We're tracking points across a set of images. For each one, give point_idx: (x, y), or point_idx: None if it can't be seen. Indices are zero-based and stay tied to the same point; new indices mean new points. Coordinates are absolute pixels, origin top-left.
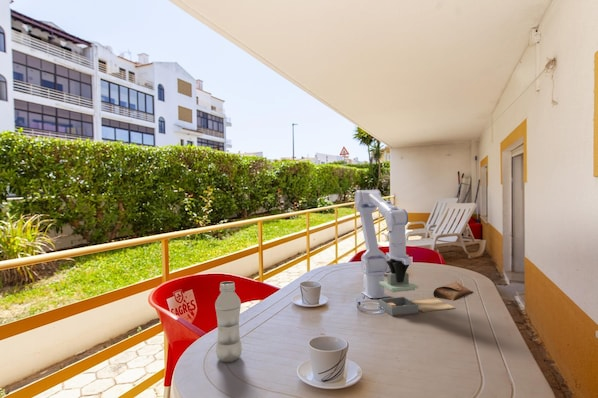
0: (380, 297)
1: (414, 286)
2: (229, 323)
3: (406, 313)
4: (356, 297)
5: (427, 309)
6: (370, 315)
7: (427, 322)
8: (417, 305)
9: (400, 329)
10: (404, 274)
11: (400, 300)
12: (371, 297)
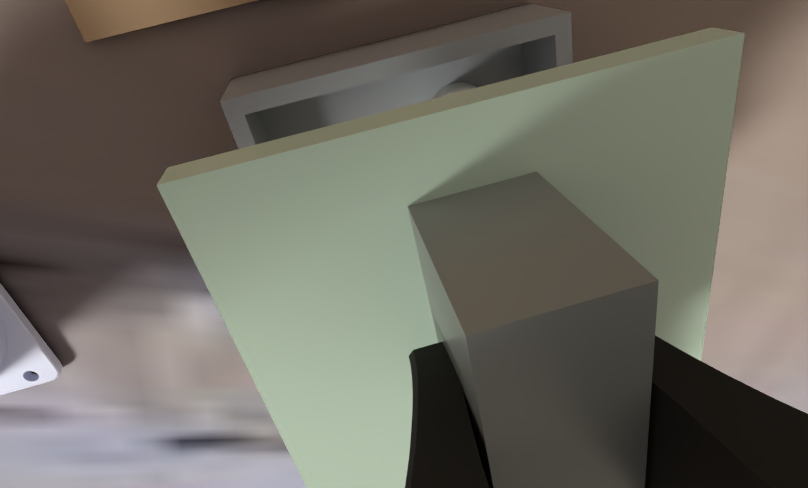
0: (1, 285)
1: (732, 115)
2: None
3: None
4: (29, 462)
5: None
6: None
7: (758, 3)
8: (569, 21)
9: (778, 242)
10: (730, 388)
11: (262, 140)
12: (51, 369)
